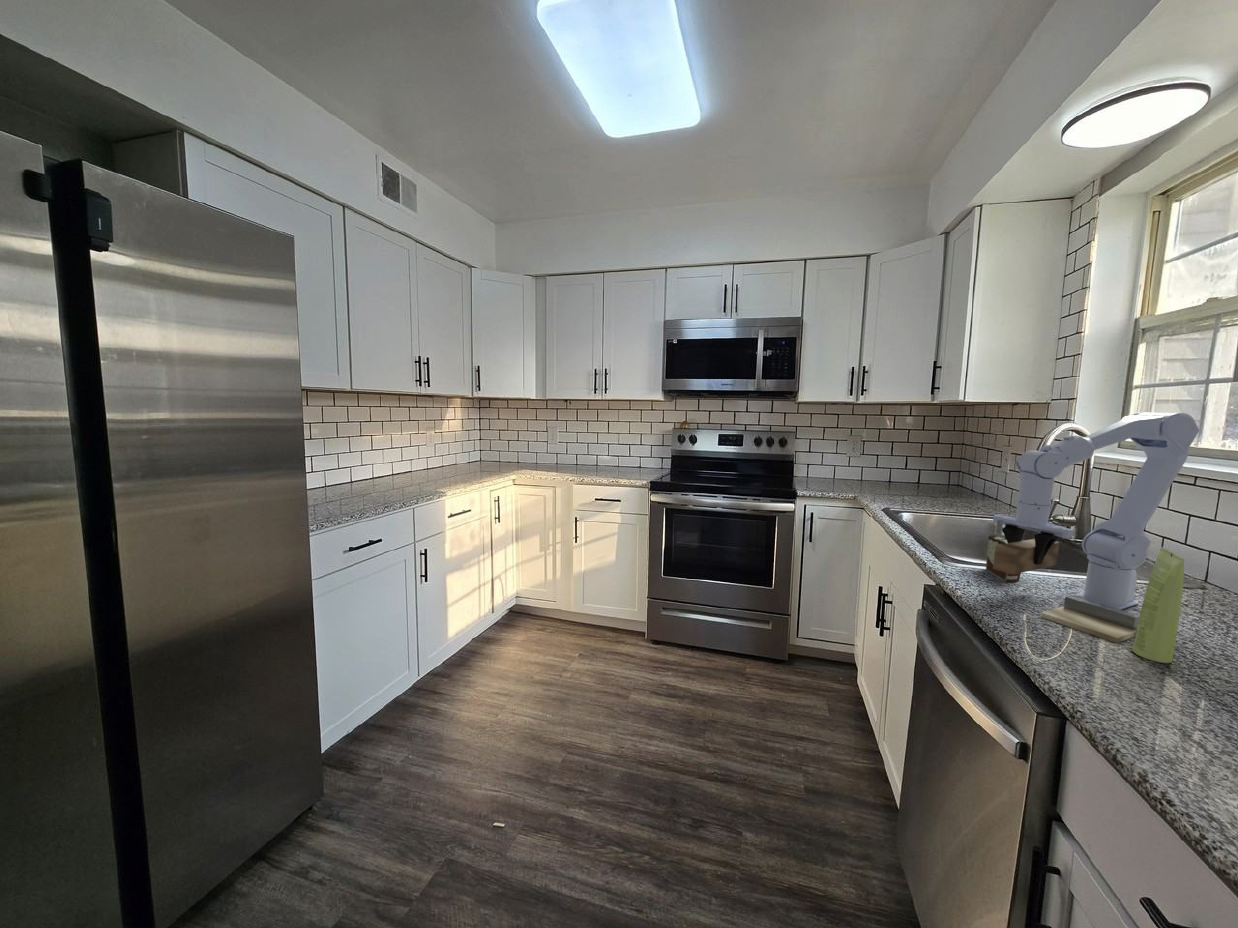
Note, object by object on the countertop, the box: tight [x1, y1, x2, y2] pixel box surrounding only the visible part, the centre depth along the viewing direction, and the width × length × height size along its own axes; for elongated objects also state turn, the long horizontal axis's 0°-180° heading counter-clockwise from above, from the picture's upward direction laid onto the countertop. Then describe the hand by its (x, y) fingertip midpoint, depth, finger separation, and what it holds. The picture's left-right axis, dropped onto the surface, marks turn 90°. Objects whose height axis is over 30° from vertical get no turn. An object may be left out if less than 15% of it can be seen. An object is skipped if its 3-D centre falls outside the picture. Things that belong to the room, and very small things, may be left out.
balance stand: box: [1040, 594, 1140, 644], centre depth 101 cm, size 18×12×4 cm, turn 115°
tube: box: [1131, 546, 1185, 664], centre depth 85 cm, size 6×5×20 cm
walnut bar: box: [993, 538, 1060, 575], centre depth 112 cm, size 18×4×6 cm, turn 115°
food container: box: [985, 533, 1025, 583], centre depth 126 cm, size 12×6×10 cm, turn 168°
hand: (1025, 560), depth 112 cm, fingers closed on walnut bar, 4 cm apart
